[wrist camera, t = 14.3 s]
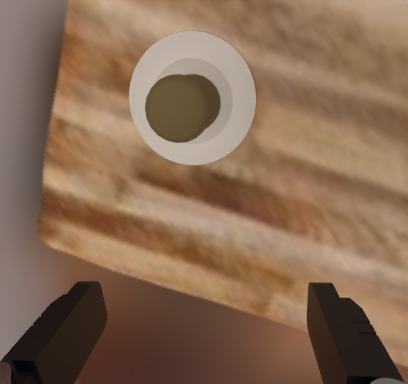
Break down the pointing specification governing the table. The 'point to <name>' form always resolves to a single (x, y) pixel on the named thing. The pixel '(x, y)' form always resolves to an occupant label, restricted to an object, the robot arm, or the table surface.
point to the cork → (182, 107)
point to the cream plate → (211, 69)
